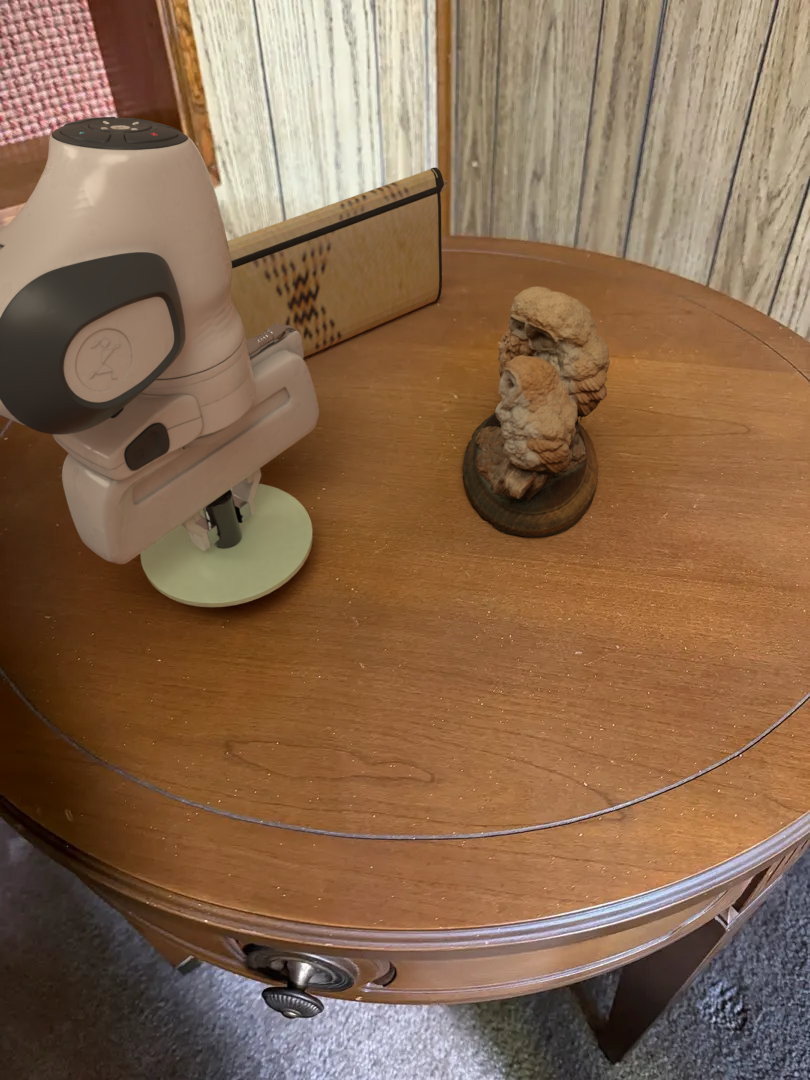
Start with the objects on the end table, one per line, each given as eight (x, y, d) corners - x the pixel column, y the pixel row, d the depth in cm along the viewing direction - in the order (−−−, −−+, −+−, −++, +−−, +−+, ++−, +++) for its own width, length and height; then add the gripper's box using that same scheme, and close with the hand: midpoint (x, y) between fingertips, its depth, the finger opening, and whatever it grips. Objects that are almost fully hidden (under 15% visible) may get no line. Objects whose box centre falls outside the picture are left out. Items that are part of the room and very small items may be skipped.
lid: (222, 641, 61) (207, 589, 57) (108, 559, 67) (87, 507, 63) (348, 536, 68) (342, 483, 64) (234, 471, 74) (222, 419, 70)
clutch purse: (418, 277, 101) (413, 148, 90) (455, 300, 97) (455, 167, 86) (193, 371, 89) (157, 234, 79) (225, 401, 85) (192, 261, 74)
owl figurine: (464, 407, 83) (465, 240, 70) (587, 408, 82) (610, 238, 69) (460, 539, 70) (461, 363, 58) (606, 541, 69) (637, 363, 57)
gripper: (265, 299, 63) (290, 446, 73) (25, 436, 52) (92, 587, 62) (327, 326, 60) (344, 475, 70) (86, 477, 49) (146, 628, 59)
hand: (224, 529), depth 66 cm, fingers closed on lid, 2 cm apart
